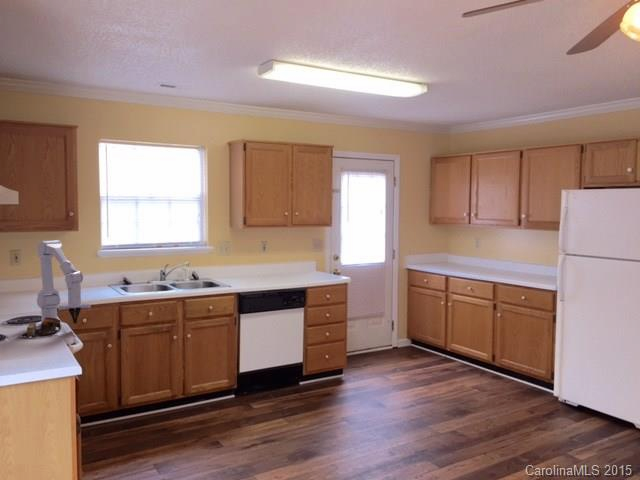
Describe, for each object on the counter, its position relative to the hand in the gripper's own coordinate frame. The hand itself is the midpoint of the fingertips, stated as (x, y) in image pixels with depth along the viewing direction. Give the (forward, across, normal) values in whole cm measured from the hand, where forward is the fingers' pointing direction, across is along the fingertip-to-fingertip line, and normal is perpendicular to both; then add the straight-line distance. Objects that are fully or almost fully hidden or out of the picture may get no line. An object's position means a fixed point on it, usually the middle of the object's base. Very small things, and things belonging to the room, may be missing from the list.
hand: (75, 323), depth 266 cm
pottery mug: (+4, -11, 0) cm, 12 cm away
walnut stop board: (+3, -19, 0) cm, 20 cm away
